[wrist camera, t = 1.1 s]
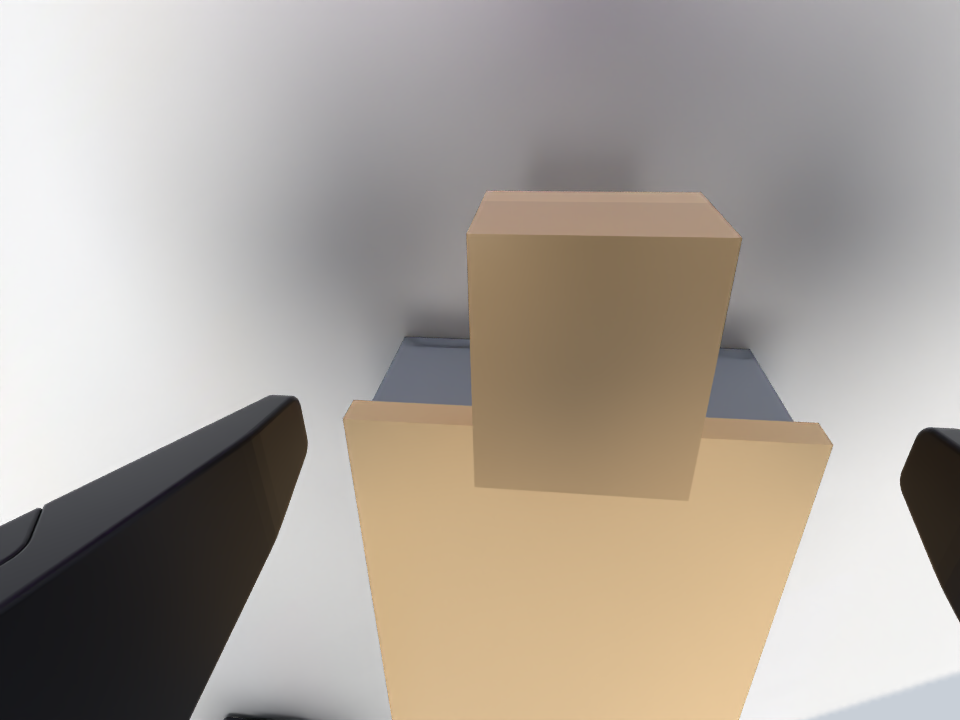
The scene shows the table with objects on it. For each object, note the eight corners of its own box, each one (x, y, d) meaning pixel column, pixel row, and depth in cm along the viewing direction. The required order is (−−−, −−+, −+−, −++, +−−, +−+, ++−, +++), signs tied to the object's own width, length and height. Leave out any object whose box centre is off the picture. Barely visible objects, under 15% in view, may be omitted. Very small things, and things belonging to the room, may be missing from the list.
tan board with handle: (706, 772, 20) (727, 874, 17) (404, 737, 21) (384, 828, 19) (891, 193, 10) (993, 241, 8) (322, 189, 12) (259, 230, 9)
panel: (677, 657, 23) (698, 766, 20) (432, 634, 24) (411, 733, 21) (749, 349, 16) (800, 433, 13) (404, 336, 18) (366, 410, 14)
